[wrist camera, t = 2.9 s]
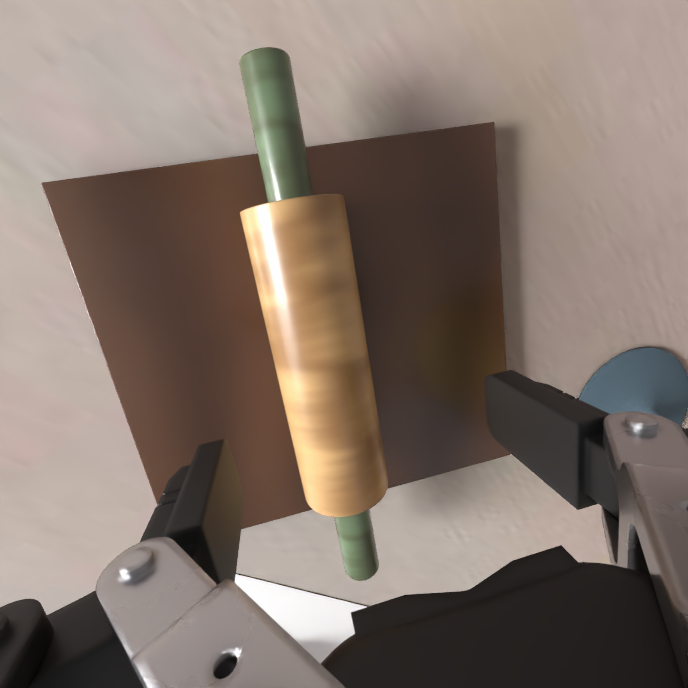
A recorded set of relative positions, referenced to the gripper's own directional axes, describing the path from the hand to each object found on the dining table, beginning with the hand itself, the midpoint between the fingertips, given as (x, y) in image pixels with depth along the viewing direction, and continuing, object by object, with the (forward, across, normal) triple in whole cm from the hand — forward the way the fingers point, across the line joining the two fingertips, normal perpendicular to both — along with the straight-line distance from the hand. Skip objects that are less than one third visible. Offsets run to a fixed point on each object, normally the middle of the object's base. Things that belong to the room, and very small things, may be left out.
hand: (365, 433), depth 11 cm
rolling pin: (+12, 0, 0) cm, 12 cm away
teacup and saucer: (+13, +10, +27) cm, 32 cm away
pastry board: (+13, 0, 0) cm, 13 cm away
